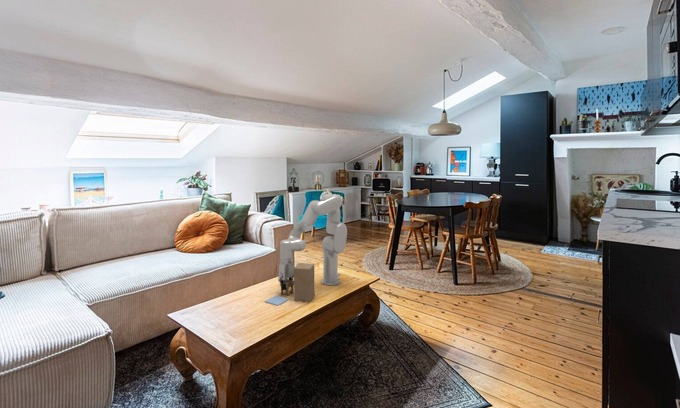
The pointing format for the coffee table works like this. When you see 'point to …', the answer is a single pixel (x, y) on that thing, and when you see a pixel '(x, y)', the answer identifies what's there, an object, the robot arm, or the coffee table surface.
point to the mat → (276, 300)
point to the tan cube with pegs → (288, 284)
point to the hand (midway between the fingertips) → (287, 287)
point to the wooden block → (304, 282)
